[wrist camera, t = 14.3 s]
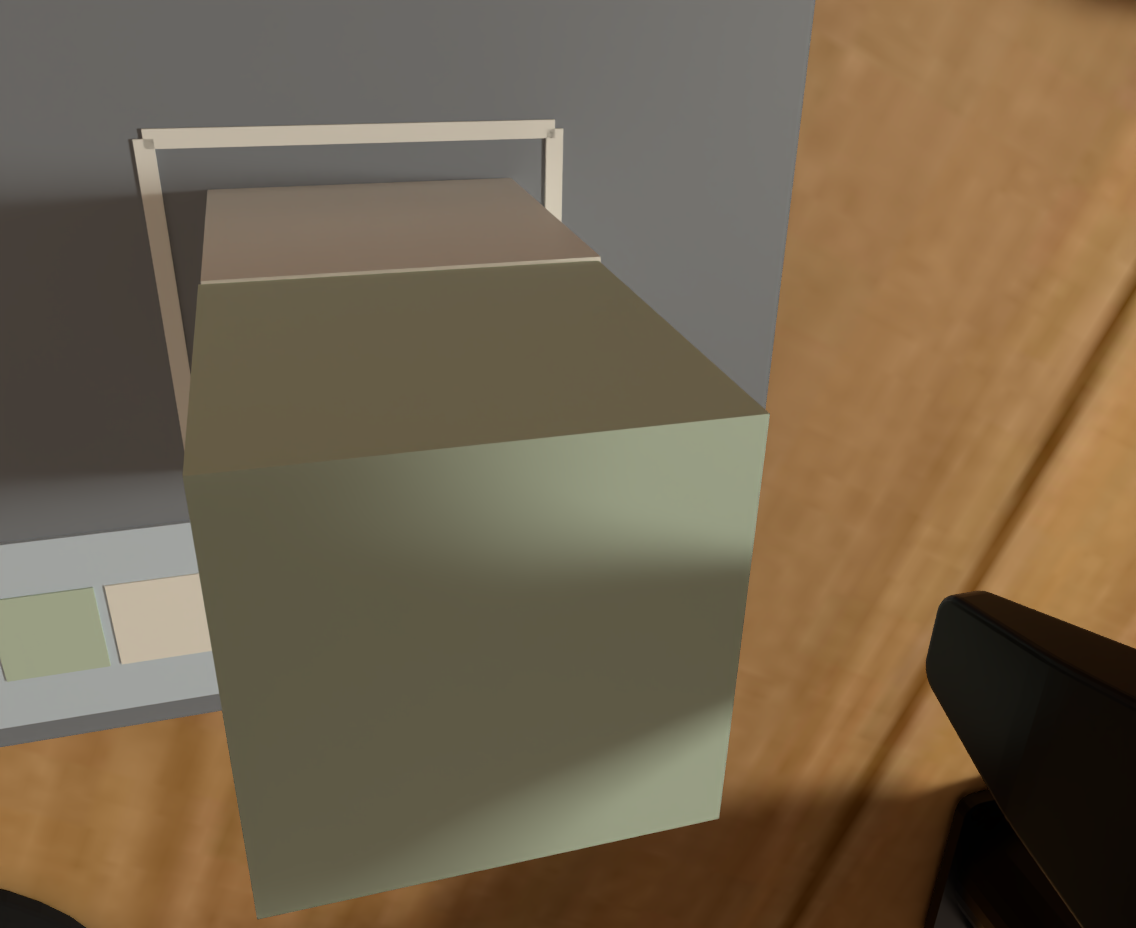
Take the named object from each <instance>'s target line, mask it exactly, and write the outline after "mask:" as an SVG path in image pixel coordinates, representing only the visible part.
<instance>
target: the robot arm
mask: <svg viewBox="0 0 1136 928" xmlns="http://www.w3.org/2000/svg"><path fill="white" fill-rule="evenodd" d="M926 673H927V678H928V681H929V684H930V686H931V688H932V690H933V692H934V694H935V695H936V697H937V699H938V701H939V702H940V704H941V706H942V708H943V710H944V711H945V713H946V715H947V717H948V718H949V720H950V722H951V724H952V725H953V727H954V729H955V731H956V733H957V734H958V736H959V738H960V740H961V741H962V743H963V745H964V747H965V748H966V750H967V752H968V754H969V755H970V757H971V759H972V761H973V763H974V764H975V766H976V768H977V770H978V771H979V773H980V775H981V777H982V778H983V780H984V782H985V784H986V786H987V787H988V789H989V790H986V791H981V792H977V793H973V794H970V795H968V796H966V797H965V798H963V799H962V800H961V801H960V802H959V803H958V805H957V808H956V810H955V814H954V818H953V822H952V825H951V829H950V833H949V836H948V840H947V844H946V848H945V851H944V855H943V859H942V862H941V866H940V870H939V874H938V877H937V881H936V885H935V889H934V892H933V896H932V900H931V903H930V907H929V911H928V915H927V918H926V922H925V926H924V928H1136V649H1135V648H1132V647H1130V646H1127V645H1124V644H1122V643H1119V642H1117V641H1114V640H1111V639H1109V638H1106V637H1104V636H1101V635H1098V634H1096V633H1093V632H1091V631H1088V630H1086V629H1083V628H1080V627H1078V626H1075V625H1073V624H1070V623H1067V622H1065V621H1062V620H1060V619H1057V618H1054V617H1052V616H1049V615H1047V614H1044V613H1041V612H1039V611H1036V610H1034V609H1031V608H1028V607H1026V606H1023V605H1021V604H1018V603H1016V602H1013V601H1010V600H1008V599H1005V598H1003V597H1000V596H997V595H995V594H992V593H989V592H986V591H973V592H967V593H961V594H955V595H950V596H948V597H946V598H945V599H944V600H943V601H942V602H941V604H940V605H939V608H938V611H937V615H936V619H935V624H934V628H933V632H932V636H931V641H930V645H929V649H928V654H927V658H926Z"/></svg>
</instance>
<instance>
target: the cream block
mask: <svg viewBox="0 0 1136 928" xmlns="http://www.w3.org/2000/svg"><path fill="white" fill-rule="evenodd" d="M581 261H600V262H601V256H599V255H598V254H597V253H596V252H595V251H594V250H593V249H591V248H590V247H589V246H588V245H587V244H586V243H585V242H583V241H582V240H581V239H580V238H579V237H578V236H577V235H575V234H574V233H573V232H572V231H571V230H570V229H569V228H568V227H566V226H565V225H564V224H563V223H562V222H561V221H560V220H558V219H557V218H556V217H555V216H554V215H553V214H552V213H550V212H549V211H548V210H547V209H546V208H545V207H544V206H542V205H541V204H540V203H539V202H538V201H537V200H536V199H535V198H533V197H532V196H531V195H530V194H529V193H528V192H527V191H525V190H524V189H523V188H522V187H521V186H520V185H519V184H517V183H516V182H515V181H514V180H513V179H512V178H495V179H469V180H444V181H418V182H392V183H367V184H341V185H315V186H290V187H264V188H238V189H213V190H207V202H206V215H205V229H204V242H203V255H202V268H201V284H215V283H232V282H249V281H265V280H282V279H299V278H315V277H332V276H348V275H365V274H382V273H398V272H415V271H432V270H448V269H465V268H481V267H498V266H515V265H531V264H548V263H565V262H581Z"/></svg>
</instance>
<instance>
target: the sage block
mask: <svg viewBox="0 0 1136 928" xmlns="http://www.w3.org/2000/svg"><path fill="white" fill-rule="evenodd" d="M769 417H770V413H768V412H767V411H766V410H765V409H764V408H763V407H762V406H761V405H760V404H758V403H757V402H756V401H755V400H754V399H753V398H752V397H751V396H749V395H748V394H747V393H746V392H745V391H744V390H743V389H742V388H740V387H739V386H738V385H737V384H736V383H735V382H734V381H733V380H732V379H730V378H729V377H728V376H727V375H726V374H725V373H724V372H723V371H721V370H720V369H719V368H718V367H717V366H716V365H715V364H714V363H713V362H711V361H710V360H709V359H708V358H707V357H706V356H705V355H704V354H702V353H701V352H700V351H699V350H698V349H697V348H696V347H695V346H694V345H692V344H691V343H690V342H689V341H688V340H687V339H686V338H685V337H683V336H682V335H681V334H680V333H679V332H678V331H677V330H676V329H675V328H673V327H672V326H671V325H670V324H669V323H668V322H667V321H666V320H664V319H663V318H662V317H661V316H660V315H659V314H658V313H657V312H655V311H654V310H653V309H652V308H651V307H650V306H649V305H648V304H647V303H645V302H644V301H643V300H642V299H641V298H640V297H639V296H638V295H636V294H635V293H634V292H633V291H632V290H631V289H630V288H629V287H628V286H626V285H625V284H624V283H623V282H622V281H621V280H620V279H619V278H617V277H616V276H615V275H614V274H613V273H612V272H611V271H610V270H609V269H607V268H606V267H605V266H604V265H603V264H602V263H601V262H600V261H581V262H565V263H548V264H531V265H515V266H498V267H481V268H465V269H448V270H432V271H415V272H398V273H382V274H365V275H348V276H332V277H315V278H299V279H282V280H265V281H249V282H232V283H215V284H199V285H198V293H197V306H196V318H195V330H194V342H193V354H192V367H191V379H190V391H189V403H188V415H187V428H186V440H185V452H184V464H183V482H184V488H185V494H186V500H187V506H188V512H189V518H190V524H191V530H192V536H193V541H194V547H195V553H196V559H197V565H198V571H199V577H200V583H201V589H202V595H203V601H204V607H205V612H206V618H207V624H208V630H209V636H210V642H211V648H212V654H213V660H214V666H215V672H216V678H217V683H218V689H219V695H220V701H221V707H222V713H223V719H224V725H225V731H226V737H227V743H228V749H229V754H230V760H231V766H232V772H233V778H234V784H235V790H236V796H237V802H238V808H239V814H240V820H241V825H242V831H243V837H244V843H245V849H246V855H247V861H248V867H249V873H250V879H251V885H252V891H253V896H254V902H255V908H256V914H257V919H262V918H266V917H271V916H275V915H280V914H285V913H289V912H294V911H298V910H303V909H307V908H312V907H317V906H321V905H326V904H330V903H335V902H339V901H344V900H349V899H353V898H358V897H362V896H367V895H372V894H376V893H381V892H385V891H390V890H394V889H399V888H404V887H408V886H413V885H417V884H422V883H426V882H431V881H436V880H440V879H445V878H449V877H454V876H459V875H463V874H468V873H472V872H477V871H481V870H486V869H491V868H495V867H500V866H504V865H509V864H513V863H518V862H523V861H527V860H532V859H536V858H541V857H546V856H550V855H555V854H559V853H564V852H568V851H573V850H578V849H582V848H587V847H591V846H596V845H600V844H605V843H610V842H614V841H619V840H623V839H628V838H633V837H637V836H642V835H646V834H651V833H655V832H660V831H665V830H669V829H674V828H678V827H683V826H687V825H692V824H697V823H701V822H706V821H710V820H715V819H719V814H720V806H721V798H722V790H723V782H724V774H725V766H726V758H727V750H728V743H729V735H730V727H731V719H732V711H733V703H734V695H735V687H736V679H737V671H738V663H739V655H740V647H741V639H742V631H743V623H744V615H745V607H746V599H747V591H748V584H749V576H750V568H751V560H752V552H753V544H754V536H755V528H756V520H757V512H758V504H759V496H760V488H761V480H762V472H763V464H764V456H765V448H766V440H767V433H768V425H769Z"/></svg>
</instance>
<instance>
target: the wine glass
mask: <svg viewBox="0 0 1136 928" xmlns="http://www.w3.org/2000/svg"><path fill="white" fill-rule="evenodd" d="M0 928H86V927H84V926H83V925H81V924H80V923H79V922H77V921H76V920H75V919H73V918H72V917H70V916H68V915H66V914H64V913H62V912H60V911H58V910H56V909H54V908H52V907H50V906H48V905H46V904H44V903H42V902H39V901H36V900H33V899H30V898H27V897H24V896H21V895H18V894H16V893H13V892H10V891H5V890H0Z"/></svg>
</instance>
